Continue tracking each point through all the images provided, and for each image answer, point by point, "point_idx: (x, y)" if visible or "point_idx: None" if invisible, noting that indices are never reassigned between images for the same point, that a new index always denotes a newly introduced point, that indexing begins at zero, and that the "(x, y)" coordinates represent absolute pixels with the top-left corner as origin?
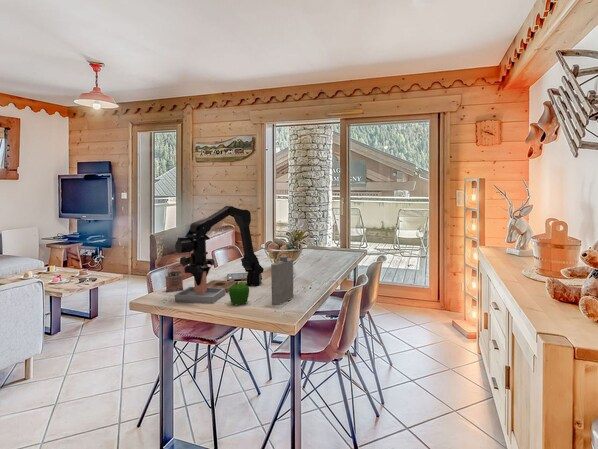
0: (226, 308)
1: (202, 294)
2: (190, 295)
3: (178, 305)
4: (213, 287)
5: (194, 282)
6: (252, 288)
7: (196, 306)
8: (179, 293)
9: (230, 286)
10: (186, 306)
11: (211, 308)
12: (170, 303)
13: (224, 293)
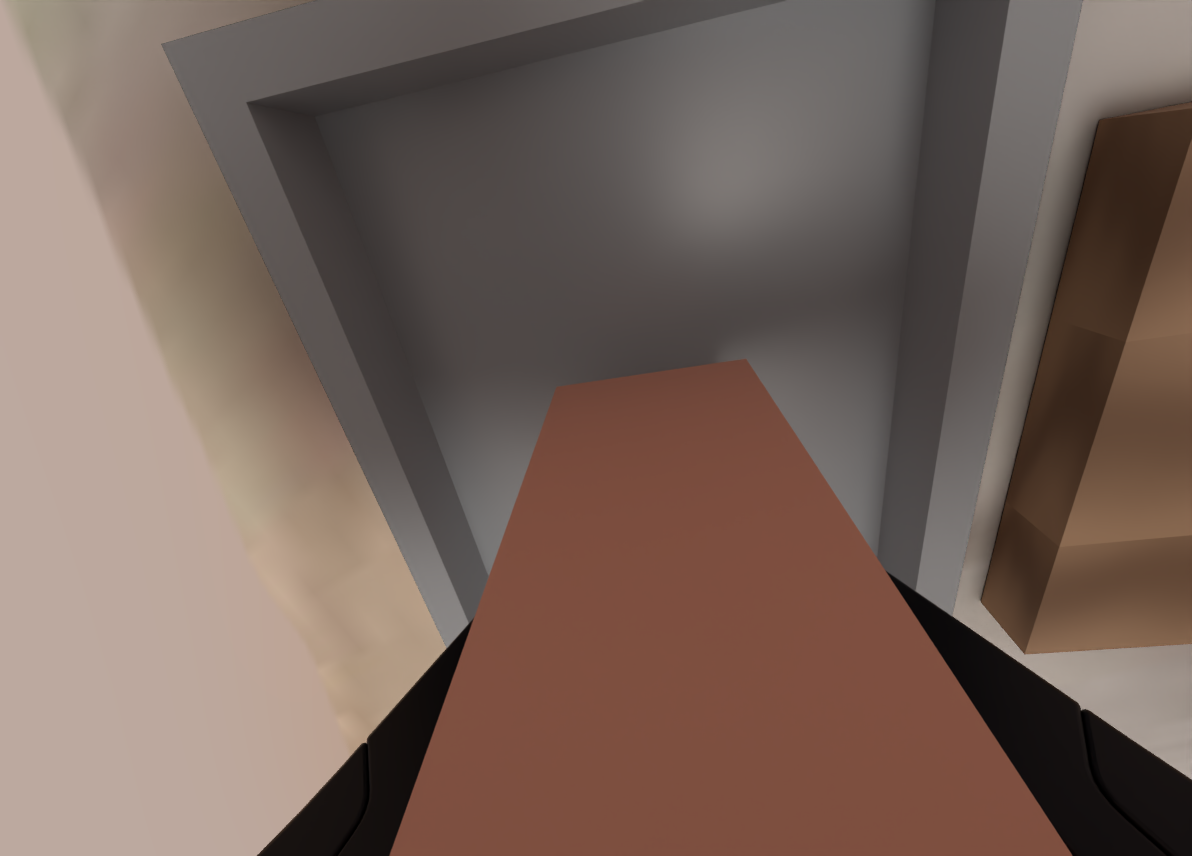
0: None
1: None
2: (363, 429)
3: (206, 300)
4: (1130, 431)
5: (509, 532)
6: (1182, 751)
7: (334, 537)
8: (328, 72)
9: (1165, 644)
10: (257, 433)
11: (377, 677)
12: (165, 65)
13: None
